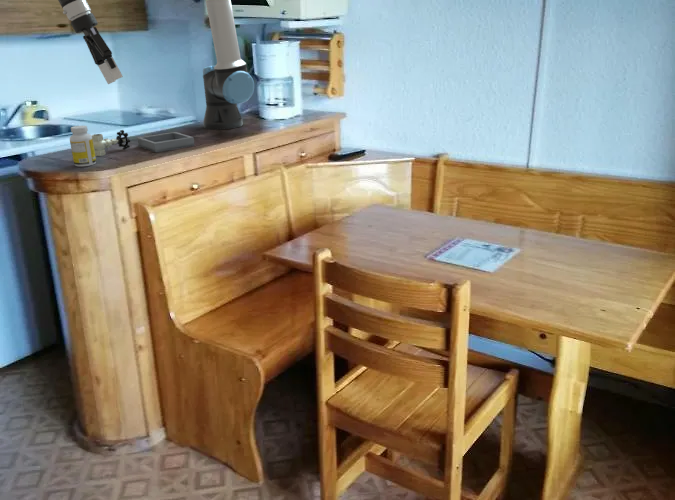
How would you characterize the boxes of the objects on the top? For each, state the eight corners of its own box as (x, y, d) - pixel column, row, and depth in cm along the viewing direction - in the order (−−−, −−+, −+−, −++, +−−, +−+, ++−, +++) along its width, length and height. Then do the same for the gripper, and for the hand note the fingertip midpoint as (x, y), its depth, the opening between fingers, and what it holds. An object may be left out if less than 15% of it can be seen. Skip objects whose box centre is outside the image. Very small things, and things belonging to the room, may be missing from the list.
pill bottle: (94, 161, 206) (87, 124, 202) (98, 165, 201) (92, 127, 197) (72, 164, 203) (65, 126, 199) (76, 168, 198) (69, 129, 194)
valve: (100, 157, 211) (131, 150, 220) (97, 137, 209) (129, 130, 218) (88, 155, 215) (120, 148, 224) (85, 135, 213) (117, 129, 222)
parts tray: (175, 140, 233) (174, 131, 232) (194, 145, 223) (193, 137, 222) (138, 146, 225) (137, 137, 224) (156, 152, 215) (154, 143, 214)
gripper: (65, 28, 215) (99, 88, 222) (74, 13, 193) (110, 81, 200) (87, 19, 218) (119, 79, 225) (97, 4, 196) (132, 71, 203)
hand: (115, 80), depth 212 cm, fingers open, 13 cm apart
